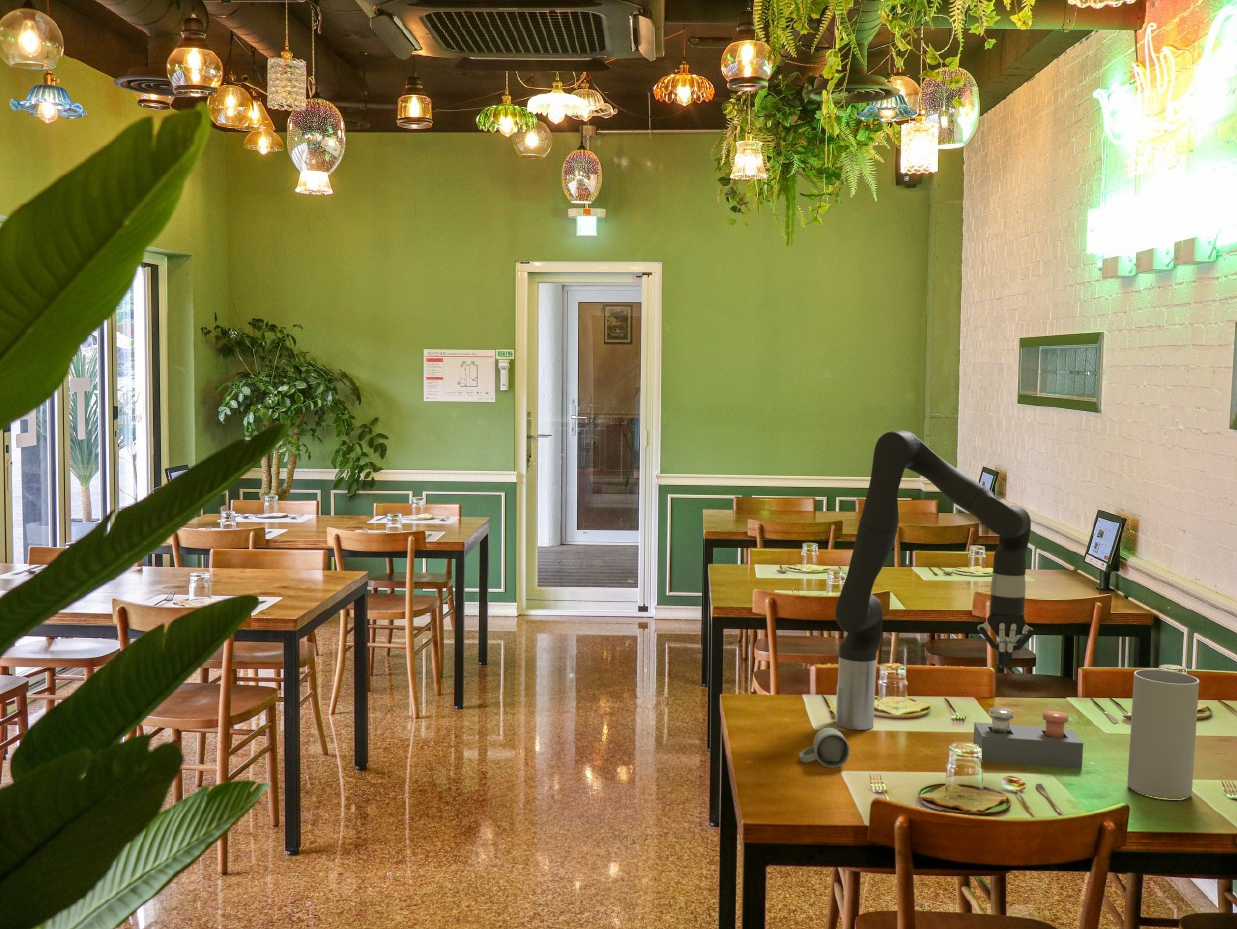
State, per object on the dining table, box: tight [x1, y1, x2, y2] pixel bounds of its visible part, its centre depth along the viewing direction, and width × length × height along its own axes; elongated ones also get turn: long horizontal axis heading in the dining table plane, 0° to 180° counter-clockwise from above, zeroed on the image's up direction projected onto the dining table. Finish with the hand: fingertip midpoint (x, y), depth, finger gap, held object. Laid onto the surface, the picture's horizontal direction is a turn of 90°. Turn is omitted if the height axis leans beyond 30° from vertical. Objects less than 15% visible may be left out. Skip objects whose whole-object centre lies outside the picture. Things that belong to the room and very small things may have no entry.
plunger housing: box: [973, 721, 1084, 770], centre depth 265 cm, size 22×11×6 cm, turn 82°
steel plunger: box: [988, 706, 1015, 734], centre depth 266 cm, size 6×6×6 cm
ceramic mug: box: [798, 727, 851, 769], centre depth 258 cm, size 11×8×8 cm
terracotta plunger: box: [1041, 710, 1070, 738], centre depth 264 cm, size 6×6×6 cm
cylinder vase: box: [1127, 668, 1200, 799], centre depth 244 cm, size 12×12×25 cm
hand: (1003, 667), depth 265 cm, fingers closed
